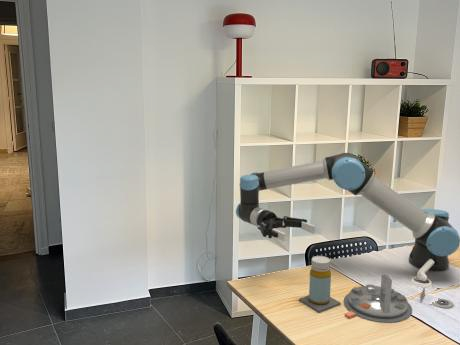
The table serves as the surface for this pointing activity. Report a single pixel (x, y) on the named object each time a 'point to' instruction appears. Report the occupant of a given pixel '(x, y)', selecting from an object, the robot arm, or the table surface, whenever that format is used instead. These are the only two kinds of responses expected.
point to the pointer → (350, 315)
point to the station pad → (319, 308)
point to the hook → (423, 275)
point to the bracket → (438, 303)
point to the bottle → (320, 280)
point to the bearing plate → (391, 320)
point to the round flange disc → (378, 300)
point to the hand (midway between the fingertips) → (300, 233)
